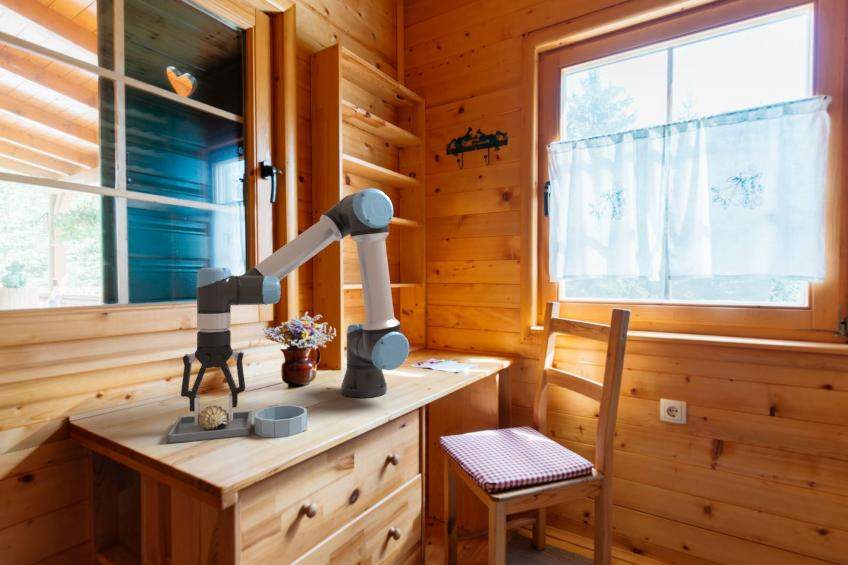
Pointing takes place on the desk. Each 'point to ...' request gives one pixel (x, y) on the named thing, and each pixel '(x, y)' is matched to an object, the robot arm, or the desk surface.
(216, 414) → the seashell
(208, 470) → the desk surface
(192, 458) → the desk surface
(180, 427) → the tray
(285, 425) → the bowl
